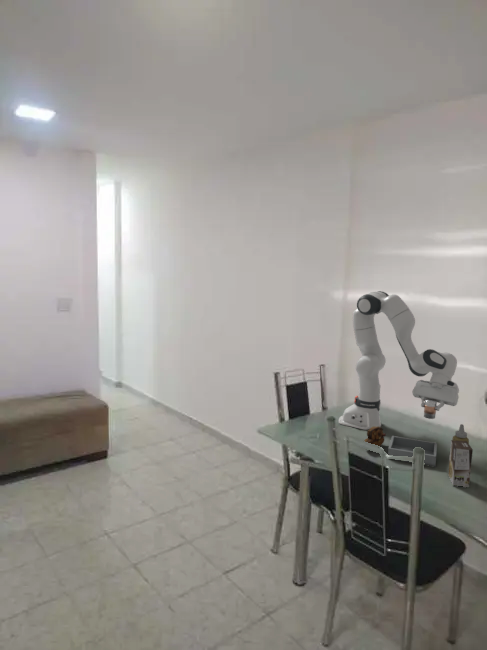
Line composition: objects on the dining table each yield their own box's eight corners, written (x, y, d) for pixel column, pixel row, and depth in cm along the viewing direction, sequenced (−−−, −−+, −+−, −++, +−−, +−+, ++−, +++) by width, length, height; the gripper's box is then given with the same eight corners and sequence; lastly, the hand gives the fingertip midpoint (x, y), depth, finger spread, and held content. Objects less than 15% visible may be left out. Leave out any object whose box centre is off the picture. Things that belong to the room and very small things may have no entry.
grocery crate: (387, 458, 212) (388, 448, 212) (391, 445, 227) (392, 435, 226) (435, 467, 205) (436, 456, 204) (436, 452, 219) (436, 442, 218)
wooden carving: (371, 454, 217) (372, 434, 215) (362, 451, 220) (363, 431, 218) (387, 444, 229) (388, 424, 227) (378, 441, 232) (379, 422, 230)
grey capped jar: (423, 417, 218) (425, 401, 216) (423, 414, 222) (425, 398, 221) (435, 419, 216) (436, 402, 214) (435, 416, 220) (436, 399, 219)
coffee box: (469, 488, 187) (473, 449, 184) (452, 486, 188) (455, 448, 186) (463, 477, 196) (467, 440, 193) (447, 475, 197) (450, 439, 194)
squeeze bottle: (466, 460, 212) (469, 422, 209) (470, 468, 204) (474, 429, 201) (447, 458, 214) (450, 420, 211) (450, 466, 206) (454, 427, 203)
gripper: (416, 375, 228) (406, 399, 223) (460, 384, 215) (450, 410, 209) (419, 382, 232) (409, 406, 227) (462, 391, 219) (453, 417, 213)
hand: (429, 408), depth 218 cm, fingers closed on grey capped jar, 5 cm apart
